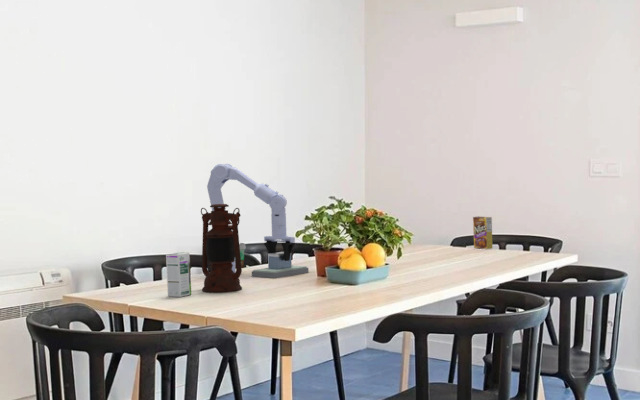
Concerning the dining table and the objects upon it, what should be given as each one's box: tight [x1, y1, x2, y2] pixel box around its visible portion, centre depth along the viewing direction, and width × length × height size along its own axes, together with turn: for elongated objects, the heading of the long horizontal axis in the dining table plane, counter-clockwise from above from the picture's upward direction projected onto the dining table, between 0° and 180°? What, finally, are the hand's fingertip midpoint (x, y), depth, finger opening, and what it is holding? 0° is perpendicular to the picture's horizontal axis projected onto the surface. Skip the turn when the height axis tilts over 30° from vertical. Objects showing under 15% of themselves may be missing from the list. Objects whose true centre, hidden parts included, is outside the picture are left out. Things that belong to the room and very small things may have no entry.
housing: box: [267, 251, 293, 270], centre depth 353 cm, size 5×8×6 cm, turn 140°
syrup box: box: [165, 251, 192, 298], centre depth 303 cm, size 6×6×14 cm
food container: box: [235, 242, 247, 270], centre depth 381 cm, size 12×6×10 cm, turn 143°
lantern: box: [200, 203, 243, 294], centre depth 313 cm, size 17×14×30 cm
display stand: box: [251, 264, 310, 279], centre depth 353 cm, size 20×12×2 cm, turn 140°
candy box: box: [472, 216, 493, 250], centre depth 434 cm, size 9×4×15 cm, turn 35°
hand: (279, 260), depth 353 cm, fingers open, 7 cm apart
